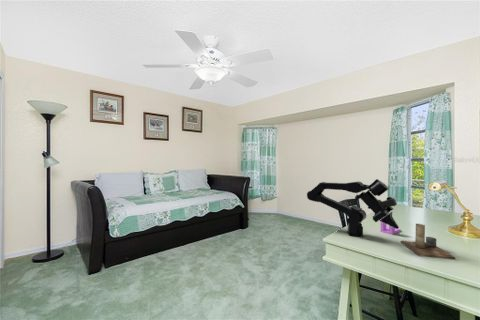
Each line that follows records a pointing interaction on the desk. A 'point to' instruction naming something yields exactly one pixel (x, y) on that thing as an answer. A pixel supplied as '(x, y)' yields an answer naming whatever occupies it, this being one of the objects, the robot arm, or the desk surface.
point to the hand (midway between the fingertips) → (398, 228)
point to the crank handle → (423, 238)
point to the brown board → (427, 251)
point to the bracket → (388, 229)
